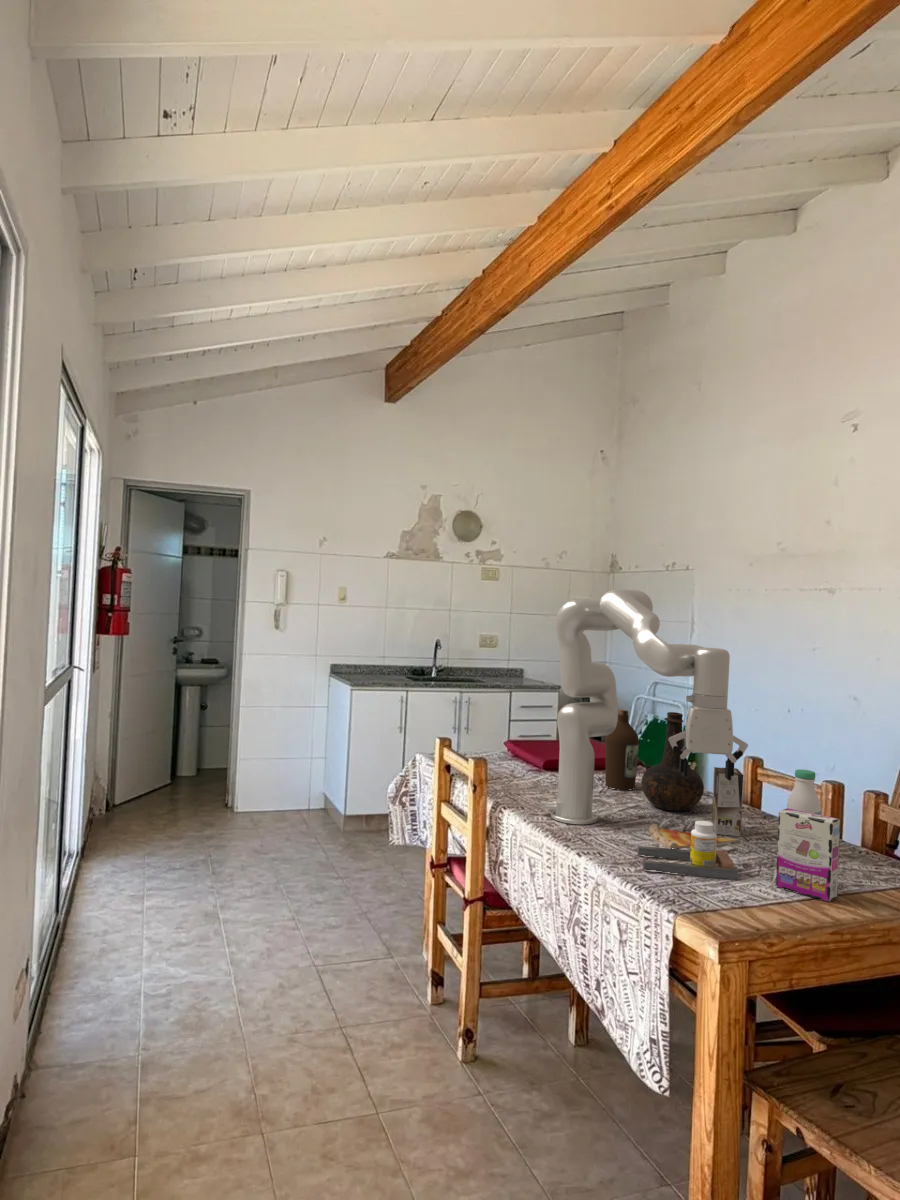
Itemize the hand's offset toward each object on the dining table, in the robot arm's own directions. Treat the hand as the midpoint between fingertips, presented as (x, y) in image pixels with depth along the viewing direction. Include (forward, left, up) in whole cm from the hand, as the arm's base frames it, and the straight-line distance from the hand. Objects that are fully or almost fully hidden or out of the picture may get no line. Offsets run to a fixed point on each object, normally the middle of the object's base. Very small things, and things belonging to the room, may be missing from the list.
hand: (706, 777), depth 177 cm
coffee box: (+12, +32, -21) cm, 40 cm away
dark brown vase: (+1, +53, -21) cm, 57 cm away
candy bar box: (+19, -11, -21) cm, 30 cm away
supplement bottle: (0, -1, -21) cm, 21 cm away
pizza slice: (+1, +18, -21) cm, 28 cm away
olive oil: (-12, +74, -21) cm, 78 cm away
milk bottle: (+27, +18, -21) cm, 39 cm away
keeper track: (-4, -1, -20) cm, 21 cm away
